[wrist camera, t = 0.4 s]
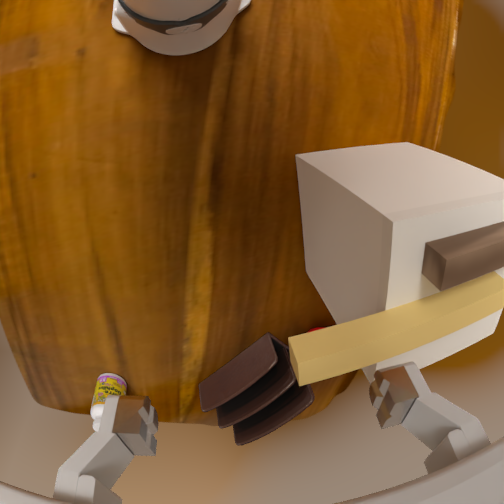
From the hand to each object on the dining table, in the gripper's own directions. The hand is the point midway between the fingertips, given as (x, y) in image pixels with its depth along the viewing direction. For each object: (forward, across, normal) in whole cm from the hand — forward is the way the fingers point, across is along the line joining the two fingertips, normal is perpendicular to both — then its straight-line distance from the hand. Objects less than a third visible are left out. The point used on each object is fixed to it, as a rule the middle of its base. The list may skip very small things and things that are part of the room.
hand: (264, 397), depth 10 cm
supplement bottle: (+34, +30, +43) cm, 62 cm away
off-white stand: (+39, -20, +11) cm, 45 cm away
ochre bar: (+13, -15, +10) cm, 22 cm away
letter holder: (+37, +1, +44) cm, 57 cm away
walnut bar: (+14, -22, +4) cm, 26 cm away
